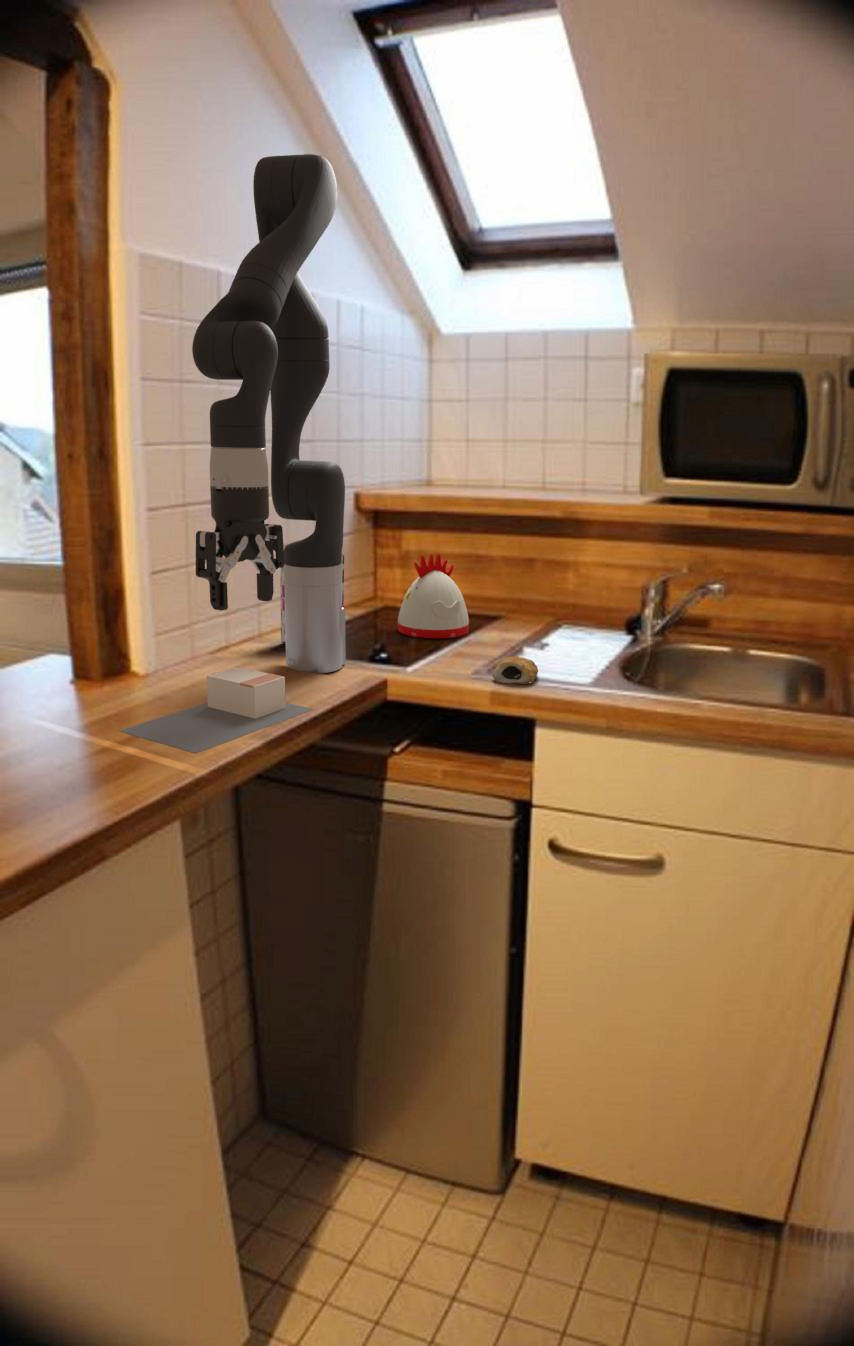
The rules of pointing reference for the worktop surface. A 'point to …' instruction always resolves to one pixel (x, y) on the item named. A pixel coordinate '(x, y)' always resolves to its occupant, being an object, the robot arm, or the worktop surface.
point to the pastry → (515, 670)
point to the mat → (207, 726)
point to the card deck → (246, 692)
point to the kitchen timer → (433, 603)
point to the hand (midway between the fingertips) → (242, 605)
